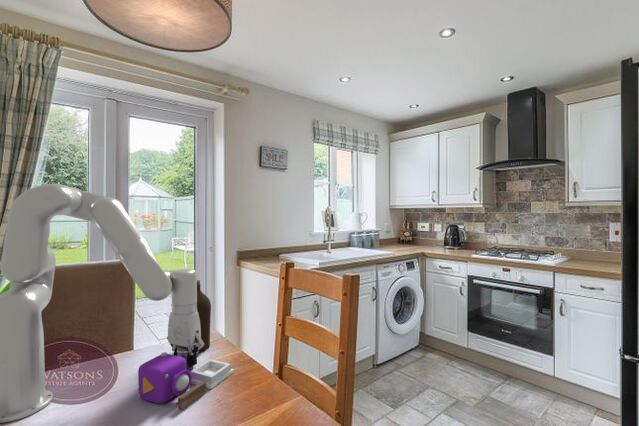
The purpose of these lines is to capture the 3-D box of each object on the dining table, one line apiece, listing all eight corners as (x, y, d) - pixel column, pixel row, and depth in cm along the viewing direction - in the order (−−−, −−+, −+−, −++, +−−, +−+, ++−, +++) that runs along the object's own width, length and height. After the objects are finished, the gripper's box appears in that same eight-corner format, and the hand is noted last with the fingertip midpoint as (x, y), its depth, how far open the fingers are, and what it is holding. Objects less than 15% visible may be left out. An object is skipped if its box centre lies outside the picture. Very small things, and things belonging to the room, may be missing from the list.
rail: (177, 409, 83) (177, 397, 83) (201, 391, 90) (201, 381, 90) (182, 410, 82) (182, 398, 82) (205, 392, 90) (205, 382, 90)
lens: (173, 371, 101) (173, 346, 101) (185, 364, 106) (185, 340, 106) (185, 374, 99) (184, 349, 99) (197, 367, 104) (196, 343, 104)
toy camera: (177, 410, 82) (176, 371, 82) (131, 403, 85) (131, 366, 85) (201, 386, 93) (200, 352, 93) (160, 381, 96) (159, 348, 95)
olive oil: (205, 354, 113) (204, 284, 112) (175, 354, 113) (174, 284, 113) (215, 341, 124) (214, 277, 123) (188, 341, 124) (187, 277, 123)
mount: (187, 382, 95) (187, 372, 95) (211, 366, 104) (211, 357, 104) (211, 389, 92) (210, 378, 91) (233, 372, 101) (233, 363, 101)
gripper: (155, 308, 102) (156, 364, 103) (196, 315, 95) (197, 375, 96) (174, 301, 109) (175, 354, 110) (213, 307, 102) (214, 363, 103)
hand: (185, 363), depth 103 cm, fingers open, 5 cm apart
